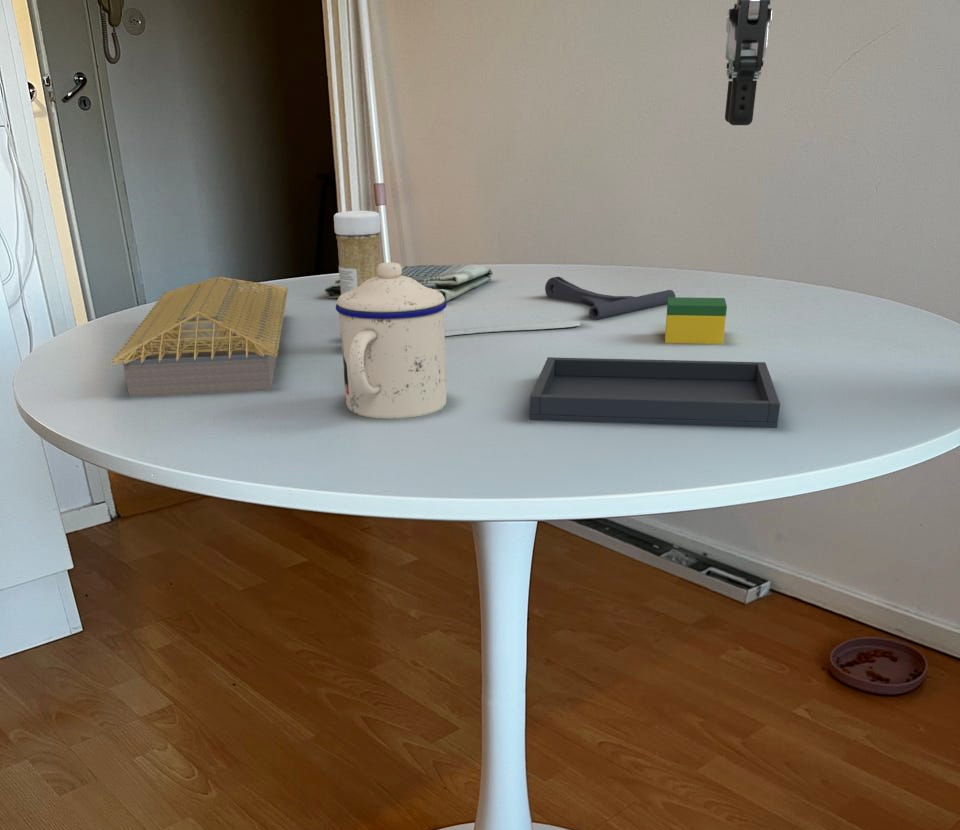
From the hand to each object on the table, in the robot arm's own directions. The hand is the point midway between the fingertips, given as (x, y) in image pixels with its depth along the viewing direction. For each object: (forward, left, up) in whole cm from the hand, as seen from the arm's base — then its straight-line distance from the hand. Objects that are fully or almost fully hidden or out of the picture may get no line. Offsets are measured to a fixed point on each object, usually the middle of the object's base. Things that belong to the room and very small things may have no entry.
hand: (737, 123), depth 99 cm
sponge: (+3, +2, -21) cm, 21 cm away
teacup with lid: (+29, +32, -21) cm, 48 cm away
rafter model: (+52, +13, -21) cm, 57 cm away
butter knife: (+28, +2, -21) cm, 34 cm away
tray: (+7, +27, -21) cm, 35 cm away
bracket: (+15, -17, -21) cm, 30 cm away
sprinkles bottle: (+37, +10, -21) cm, 43 cm away
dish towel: (+40, -25, -21) cm, 51 cm away
